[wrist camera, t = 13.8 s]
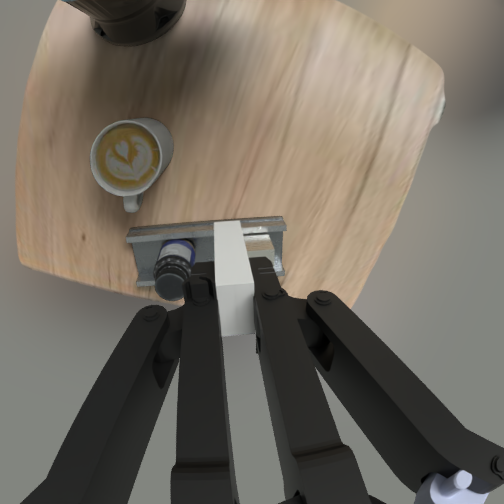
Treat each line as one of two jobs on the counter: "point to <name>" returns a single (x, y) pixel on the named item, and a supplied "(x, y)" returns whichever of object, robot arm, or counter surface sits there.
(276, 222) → the rail
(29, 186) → the counter surface
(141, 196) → the coffee mug
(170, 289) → the pill bottle
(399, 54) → the counter surface
